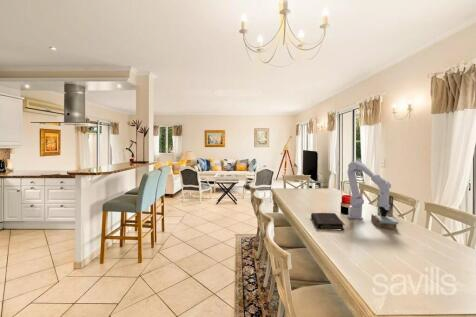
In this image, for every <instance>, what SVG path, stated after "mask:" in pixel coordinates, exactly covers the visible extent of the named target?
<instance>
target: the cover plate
mask: <svg viewBox="0 0 476 317" xmlns="http://www.w3.org/2000/svg"><path fill="white" fill-rule="evenodd" d="M376 218H377V219H378V221H379V222H380V223H389V224H397V225H398V224H399V221H398V220H396V219H395V218H394V217H393V216H391V217H384V216H381V215H377V216H376Z"/></svg>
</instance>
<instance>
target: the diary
mask: <svg viewBox="0 0 476 317" xmlns="http://www.w3.org/2000/svg"><path fill="white" fill-rule="evenodd" d="M310 217H311V220H312V221H313V222H314V224H315V226H316V229H317V230H319V229H320V230H329V229H341V230H340V231H345V230H346V229H345V228H344V226H345V225H346V224H345V223H344V222H343V220H341V218H340V217H339V216H338V215H337V214H336V213H334V212H311V214H310Z"/></svg>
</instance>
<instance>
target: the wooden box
mask: <svg viewBox="0 0 476 317" xmlns="http://www.w3.org/2000/svg"><path fill="white" fill-rule="evenodd" d="M370 215H371V217H370V219H371V223H372V224H373V225H374V226H375V227H376V228H387V229H388V228H389V229H397V226H398V224H389V223H380V222H379V221H378V219H377V218H376V216H378V214H377V215H375V214H373V213H371V214H370ZM386 217H392V216H390V215H389V216H386Z"/></svg>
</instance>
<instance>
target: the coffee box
mask: <svg viewBox="0 0 476 317" xmlns="http://www.w3.org/2000/svg"><path fill="white" fill-rule="evenodd" d="M379 200H380V194H378V195H377V215H378V216H381V212H380V209H379V207H381V206H379ZM389 205H391V206H389V210H388V212H387V214H386V216H389V215H390V216H391V217H393V215H394V196H393V195H391V194H389Z"/></svg>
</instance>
